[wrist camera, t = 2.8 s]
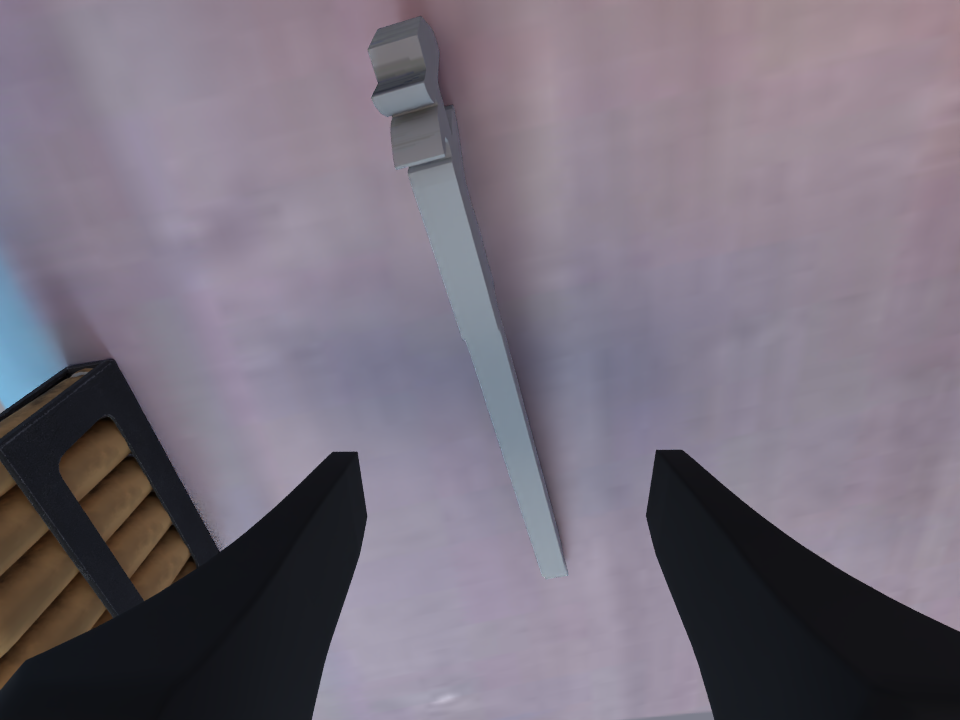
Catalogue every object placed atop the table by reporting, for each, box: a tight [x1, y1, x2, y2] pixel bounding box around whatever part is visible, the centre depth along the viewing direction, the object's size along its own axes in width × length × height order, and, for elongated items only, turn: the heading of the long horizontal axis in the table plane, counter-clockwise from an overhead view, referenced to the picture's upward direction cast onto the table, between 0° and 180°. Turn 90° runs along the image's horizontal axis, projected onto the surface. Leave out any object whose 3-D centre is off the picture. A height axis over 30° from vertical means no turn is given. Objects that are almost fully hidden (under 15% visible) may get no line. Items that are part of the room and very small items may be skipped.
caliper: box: [368, 16, 568, 579], centre depth 16 cm, size 20×1×6 cm, turn 14°
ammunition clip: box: [0, 360, 219, 690], centre depth 16 cm, size 11×2×12 cm, turn 11°
